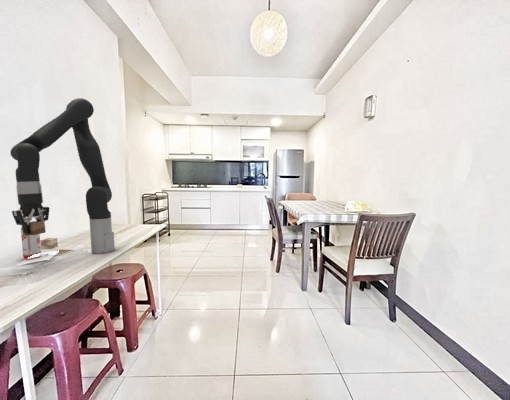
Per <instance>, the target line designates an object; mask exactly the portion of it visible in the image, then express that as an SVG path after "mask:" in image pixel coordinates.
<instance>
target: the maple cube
mask: <svg viewBox="0 0 510 400" xmlns="http://www.w3.org/2000/svg"><path fill="white" fill-rule="evenodd" d="M58 245H59V244H58V237H46V238H43V239H40V246H41V250H52V249H55V248H57V247H58Z"/></svg>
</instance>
